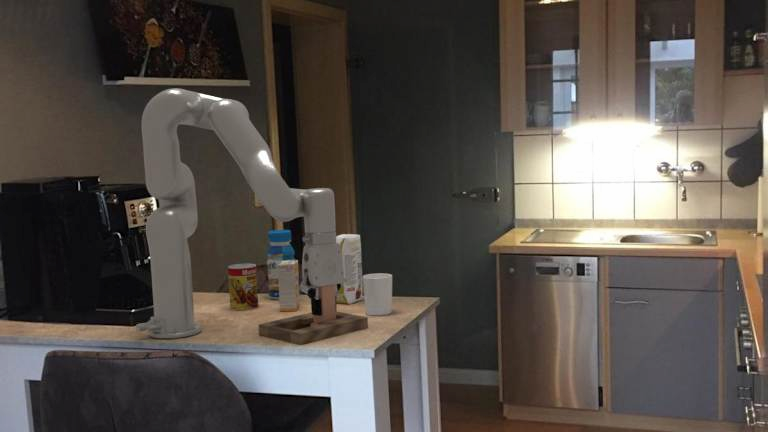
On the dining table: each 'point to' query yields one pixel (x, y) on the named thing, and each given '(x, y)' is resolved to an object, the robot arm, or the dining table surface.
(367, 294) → the white cup
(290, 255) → the beverage bottle
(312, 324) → the footed peg
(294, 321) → the keyhole plate
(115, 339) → the dining table surface
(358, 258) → the juice carton
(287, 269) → the supplement box
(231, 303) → the canned food
